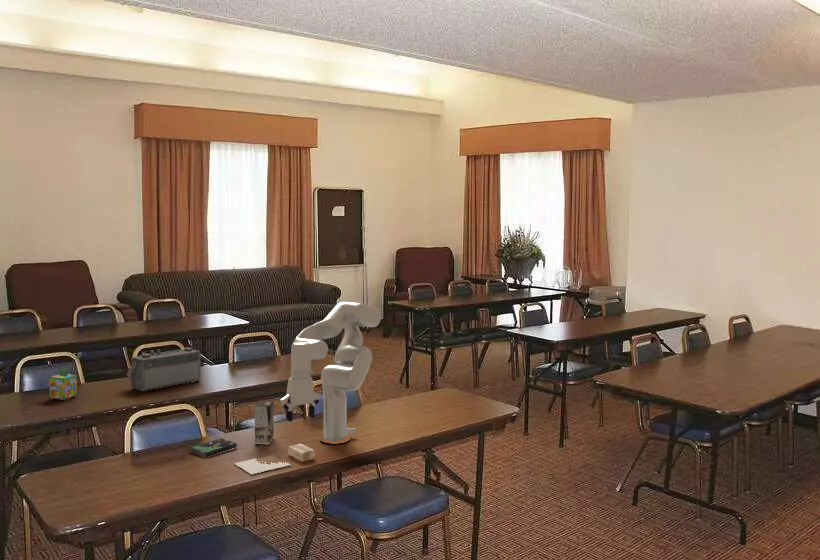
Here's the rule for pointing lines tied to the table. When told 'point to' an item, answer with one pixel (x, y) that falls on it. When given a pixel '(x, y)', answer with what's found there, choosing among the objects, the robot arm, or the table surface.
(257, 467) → the mat
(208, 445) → the disk drive
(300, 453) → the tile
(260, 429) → the coffee box
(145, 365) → the radio
